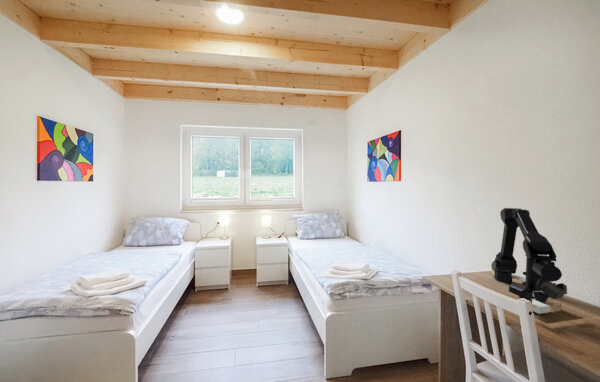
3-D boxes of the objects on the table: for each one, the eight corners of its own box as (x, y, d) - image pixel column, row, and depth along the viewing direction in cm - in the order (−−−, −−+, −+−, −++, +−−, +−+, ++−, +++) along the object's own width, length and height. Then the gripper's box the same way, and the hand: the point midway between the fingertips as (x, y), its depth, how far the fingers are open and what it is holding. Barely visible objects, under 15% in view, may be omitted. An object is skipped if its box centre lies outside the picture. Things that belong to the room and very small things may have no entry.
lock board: (507, 295, 114) (507, 285, 114) (529, 292, 117) (530, 283, 117) (551, 315, 98) (552, 303, 97) (576, 311, 100) (576, 300, 100)
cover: (519, 304, 101) (519, 299, 101) (529, 303, 102) (529, 297, 102) (538, 313, 94) (539, 307, 94) (549, 312, 95) (549, 306, 95)
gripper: (540, 281, 88) (538, 325, 89) (580, 277, 92) (578, 319, 92) (508, 270, 99) (506, 309, 99) (545, 267, 102) (543, 304, 103)
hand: (533, 310), depth 98 cm, fingers closed on cover, 5 cm apart
